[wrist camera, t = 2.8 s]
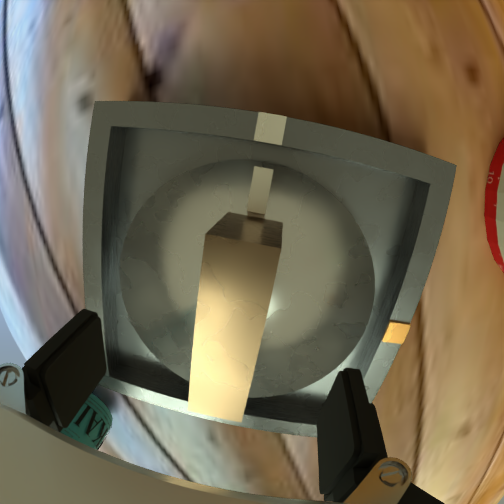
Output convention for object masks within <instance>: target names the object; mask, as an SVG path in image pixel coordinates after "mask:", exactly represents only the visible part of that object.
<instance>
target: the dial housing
mask: <svg viewBox="0 0 504 504" xmlns="http://www.w3.org/2000/svg"><path fill="white" fill-rule="evenodd" d="M229 160H254V161H263V162H269V163H273V164H277V165H281V166H284V167H287V168H289V169H292V170H294V171H297V172H299V173H302V174H303V175H305V176H307V177H309V178H310V179H312V180H314V181H315V182H317V183H319V184H320V185H321V186H323V187H324V188H325V189H326V190H328V191H329V192H330V193H331V194H332V195H334V196H335V197H336V198H337V199H338V200H339V201H340V202H341V203H342V204H343V205H344V207H345V208H346V209H347V210H348V211H349V212H350V214H351V215H352V217H353V218H354V220H355V221H356V222H357V224H358V225H359V227H360V229H361V231H362V233H363V235H364V237H365V239H366V241H367V244H368V247H369V250H370V253H371V256H372V260H373V267H374V273H375V296H374V303H373V309H372V312H371V316H370V319H369V322H368V325H367V327H366V329H365V331H364V334H363V336H362V337H361V339H360V341H359V342H358V344H357V345H356V347H355V348H354V350H353V351H352V352H351V353H350V355H349V356H348V357H347V358H346V359H345V360H344V361H343V362H342V363H341V364H340V365H339V366H338V367H337V368H336V369H335V370H333V371H332V372H331V373H329V374H328V375H326V376H325V377H324V378H322V379H320V380H319V381H317V382H315V383H313V384H311V385H309V386H307V387H304V388H302V389H299V390H297V391H294V392H290V393H286V394H283V395H277V396H270V397H257V398H250V397H248V398H247V402H246V406H245V410H244V414H243V418H242V422H236V421H231V420H226V419H222V418H217V417H213V416H209V415H204V414H200V413H196V412H192V411H189V410H188V399H189V385H190V382H189V381H187V380H185V379H183V378H182V377H180V376H179V375H177V374H176V373H174V372H173V371H171V370H170V369H169V368H168V367H166V366H165V365H164V364H163V363H161V362H160V361H159V360H158V359H157V358H156V357H155V356H154V355H153V354H152V353H151V352H150V350H149V349H148V348H147V347H146V345H145V344H144V343H143V342H142V340H141V339H140V337H139V335H138V334H137V332H136V331H135V329H134V327H133V325H132V323H131V321H130V319H129V317H128V314H127V311H126V308H125V305H124V302H123V298H122V293H121V287H120V272H119V271H120V258H121V252H122V248H123V243H124V240H125V237H126V235H127V232H128V229H129V227H130V225H131V223H132V221H133V220H134V218H135V216H136V214H137V213H138V211H139V210H140V209H141V207H142V206H143V205H144V203H145V202H146V201H147V200H148V199H149V198H150V197H151V196H152V195H153V194H154V193H155V192H156V191H157V190H158V189H159V188H160V187H162V186H163V185H165V184H166V183H167V182H169V181H170V180H172V179H173V178H175V177H177V176H179V175H181V174H183V173H184V172H186V171H188V170H191V169H194V168H197V167H200V166H203V165H206V164H210V163H216V162H221V161H229ZM456 166H457V165H454V164H452V163H449V162H446V161H444V160H441V159H439V158H436V157H433V156H430V155H427V154H425V153H422V152H419V151H416V150H413V149H410V148H407V147H404V146H401V145H398V144H394V143H391V142H388V141H384V140H381V139H378V138H374V137H371V136H367V135H363V134H360V133H356V132H352V131H348V130H344V129H340V128H336V127H332V126H327V125H323V124H319V123H314V122H309V121H304V120H300V119H294V118H289V117H287V116H281V115H276V114H270V113H264V112H254V111H247V110H240V109H232V108H224V107H215V106H205V105H194V104H182V103H166V102H142V101H95V104H94V110H93V116H92V122H91V129H90V137H89V144H88V153H87V163H86V174H85V188H84V206H83V273H84V292H85V306H86V309H87V310H90V311H93V312H96V313H97V314H98V317H100V318H101V324H102V334H103V343H104V351H105V359H106V366H107V369H106V373H105V375H104V377H103V378H102V379H101V381H100V382H99V384H98V385H100V386H103V387H105V388H108V389H111V390H113V391H116V392H119V393H121V394H124V395H127V396H130V397H133V398H136V399H139V400H142V401H145V402H148V403H151V404H154V405H157V406H160V407H164V408H167V409H170V410H174V411H178V412H181V413H185V414H189V415H192V416H196V417H200V418H204V419H209V420H213V421H217V422H222V423H226V424H231V425H236V426H241V427H246V428H252V429H258V430H264V431H270V432H277V433H284V434H291V435H300V436H309V437H317V418H318V415H319V413H320V411H321V409H322V407H323V405H324V403H325V401H326V398H327V396H328V394H329V392H330V390H331V387H332V385H333V383H334V381H335V378H336V376H337V374H338V372H339V371H343V370H344V368H354V369H360V371H361V374H362V377H363V381H364V385H365V389H366V392H367V396H368V400H369V403H372V401H373V400H374V398H375V396H376V394H377V392H378V390H379V388H380V387H381V385H382V383H383V381H384V379H385V377H386V375H387V373H388V371H389V369H390V367H391V365H392V363H393V360H394V358H395V356H396V354H397V352H398V350H399V348H400V345H401V344H403V342H404V340H405V338H406V336H407V333H408V331H409V329H410V326H411V324H410V322H411V320H412V317H413V315H414V312H415V310H416V307H417V305H418V302H419V299H420V297H421V294H422V291H423V289H424V286H425V283H426V280H427V277H428V274H429V271H430V268H431V265H432V262H433V259H434V256H435V253H436V249H437V246H438V242H439V239H440V236H441V232H442V228H443V225H444V221H445V217H446V213H447V209H448V205H449V200H450V196H451V191H452V187H453V182H454V177H455V172H456Z"/></svg>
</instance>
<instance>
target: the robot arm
mask: <svg viewBox="0 0 504 504" xmlns="http://www.w3.org/2000/svg"><path fill="white" fill-rule="evenodd" d="M24 365H25V366H24V367H23V368H22V369H21V368H20V367H19V366H18V365H16V364H13V363H4V364H1V365H0V504H444V503H443V502H441V501H439V500H438V499H436V498H435V497H433V496H431V495H430V494H428V493H427V492H425V491H423V490H422V489H420V488H419V487H417V486H416V485H414V484H413V483H411V480H412V472H411V469H410V468H409V466H408V465H407V464H406V463H405V462H403V461H402V460H400V459H397V458H392V457H390V458H388V457H387V452H386V448H385V444H384V440H383V436H382V432H381V428H380V424H379V420H378V416H377V412H376V408H375V406H374V404H372V403H369V400H368V396H367V392H366V389H365V385H364V381H363V377H362V374H361V371H360V369H354V368H344V370H343V371H339V372H338V374H337V376H336V378H335V381H334V383H333V385H332V387H331V390H330V392H329V394H328V396H327V398H326V401H325V403H324V405H323V407H322V409H321V411H320V413H319V415H318V418H317V442H318V462H319V490H320V494H324V501H314V500H299V499H288V498H279V497H271V496H262V495H255V494H248V493H242V492H236V491H231V490H225V489H220V488H216V487H211V486H206V485H202V484H198V483H194V482H190V481H186V480H182V479H178V478H175V477H171V476H168V475H164V474H161V473H158V472H155V471H152V470H149V469H146V468H143V467H140V466H137V465H134V464H131V463H129V462H126V461H123V460H121V459H118V458H115V457H113V456H110V455H108V454H105V453H103V452H101V451H98V450H96V449H94V448H91V447H89V446H87V445H85V444H83V443H81V442H78V441H76V440H74V439H72V438H70V437H68V436H66V435H64V434H62V433H60V432H61V431H62V429H63V428H67V427H68V426H69V424H70V423H71V422H72V420H73V419H74V417H75V416H76V414H77V413H78V412H79V410H80V409H81V407H82V406H83V404H84V403H85V402H86V400H87V399H88V397H89V396H90V395H91V393H92V392H93V390H94V389H95V388H96V386H97V385H98V384H99V382H100V381H101V379H102V378H103V377H104V375H105V373H106V369H107V366H106V359H105V351H104V343H103V334H102V324H101V318H100V317H98V314H97V313H96V312H93V311H90V310H87V309H83V310H81V311H80V312H79V313H78V314H77V315H76V316H75V317H73V318H72V319H71V320H70V321H69V322H68V323H67V324H66V325H65V326H64V327H62V328H61V329H60V330H59V331H58V332H57V333H56V334H55V335H54V336H53V337H52V338H51V339H49V340H48V341H47V342H46V343H45V344H44V345H43V346H42V347H41V348H40V349H39V350H38V351H37V352H36V353H35V354H34V355H33V356H32V357H31V358H30V359H29V360H28V361H26V362H25V364H24ZM326 501H333V502H326Z"/></svg>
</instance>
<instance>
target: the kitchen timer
mask: <svg viewBox="0 0 504 504" xmlns="http://www.w3.org/2000/svg"><path fill="white" fill-rule="evenodd" d="M484 216H485V224H486V232H487V240H488V243H489V245H490V248H491V251H492V254H493V257H494V260H495V261H496V263H497V264H498V265H499V267H500V268H501V270H502V271H503V273H504V138H503V139H502V141H501V142H500V143H499V145H498V148H497V150H496V153H495V155H494V157H493V160H492V162H491V164H490V170H489V175H488V179H487V184H486V189H485V213H484Z"/></svg>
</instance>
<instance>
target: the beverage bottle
mask: <svg viewBox="0 0 504 504" xmlns="http://www.w3.org/2000/svg"><path fill="white" fill-rule="evenodd" d="M111 424H112V415H111V413H110V411H109V409H108V408H107V407H106V405H105V404H104V403H103V402H102V401H101V400H100V399H99V398H98V397H96V396H95V395H94V394H92V393H91V395H90V396H89V397H88V399H87V400H86V402H85V403H84V404H83V406H82V407H81V409H80V410H79V412H78V413H77V414H76V416H75V417H74V419H73V420H72V422H71V423H70V424H69V426H68V427H67V428H63V429H62V431H61V432H60V433H62V434H64V435H66V436H68V437H70V438H72V439H74V440H76V441H78V442H81V443H83V444H85V445H87V446H89V447H91V448H94V449H96V450H99V448H100V447H101V444H102V443H103V441H102V440H105V439H104V437H105V436H106V435H107V432H108V430H109V429H110V427H111ZM111 428H112V427H111ZM106 437H107V436H106ZM99 445H100V446H99Z"/></svg>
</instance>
